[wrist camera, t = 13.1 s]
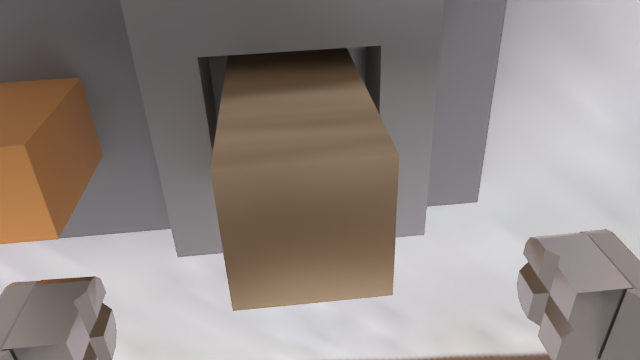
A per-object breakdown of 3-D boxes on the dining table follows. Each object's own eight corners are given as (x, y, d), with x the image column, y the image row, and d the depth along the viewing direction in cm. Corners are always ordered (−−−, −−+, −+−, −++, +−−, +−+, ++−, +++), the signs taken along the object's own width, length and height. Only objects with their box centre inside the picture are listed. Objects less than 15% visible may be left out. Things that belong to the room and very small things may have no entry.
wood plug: (228, 52, 18) (210, 170, 11) (345, 45, 18) (399, 156, 11) (241, 157, 20) (232, 311, 13) (346, 148, 20) (392, 295, 13)
